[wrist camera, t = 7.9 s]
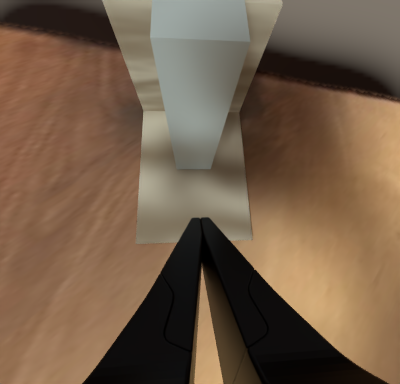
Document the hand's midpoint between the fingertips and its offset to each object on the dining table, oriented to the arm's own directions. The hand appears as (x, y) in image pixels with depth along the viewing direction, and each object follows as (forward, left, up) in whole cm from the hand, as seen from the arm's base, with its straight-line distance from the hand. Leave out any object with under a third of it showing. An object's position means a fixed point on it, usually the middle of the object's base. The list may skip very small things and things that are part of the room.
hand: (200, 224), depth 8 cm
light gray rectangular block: (+6, -6, -8) cm, 12 cm away
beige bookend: (+4, -4, -9) cm, 11 cm away
